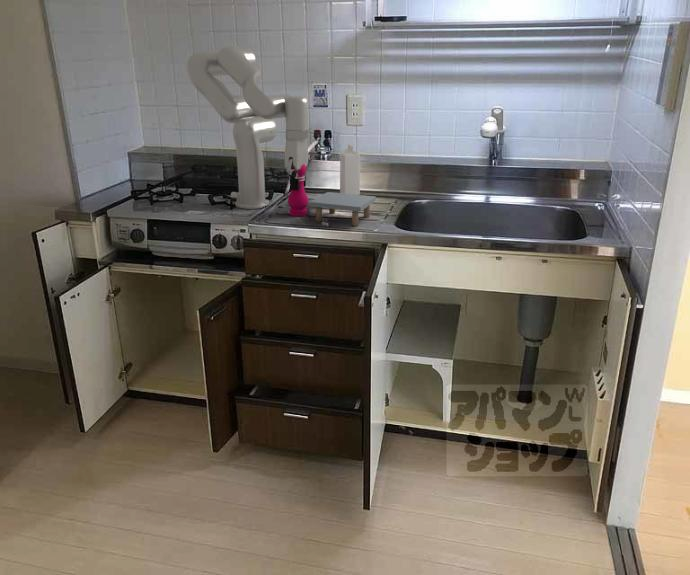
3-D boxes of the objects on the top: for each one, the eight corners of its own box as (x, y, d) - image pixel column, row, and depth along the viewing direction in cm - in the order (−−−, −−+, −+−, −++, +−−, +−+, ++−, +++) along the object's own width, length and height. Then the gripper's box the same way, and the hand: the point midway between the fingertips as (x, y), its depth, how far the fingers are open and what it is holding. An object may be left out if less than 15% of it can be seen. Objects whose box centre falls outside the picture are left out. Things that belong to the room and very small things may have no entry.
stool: (309, 222, 203) (309, 201, 201) (327, 211, 217) (327, 191, 215) (360, 227, 198) (360, 207, 195) (375, 216, 212) (375, 196, 209)
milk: (344, 207, 223) (344, 146, 215) (339, 203, 229) (339, 144, 220) (359, 206, 225) (360, 146, 216) (354, 202, 230) (355, 143, 222)
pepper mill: (305, 217, 209) (304, 159, 202) (285, 216, 210) (284, 158, 203) (310, 212, 216) (310, 155, 208) (291, 210, 217) (290, 154, 210)
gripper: (297, 131, 211) (298, 182, 218) (275, 137, 197) (277, 192, 203) (317, 132, 209) (317, 184, 216) (296, 139, 194) (297, 194, 201)
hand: (297, 187), depth 209 cm, fingers closed on pepper mill, 5 cm apart
